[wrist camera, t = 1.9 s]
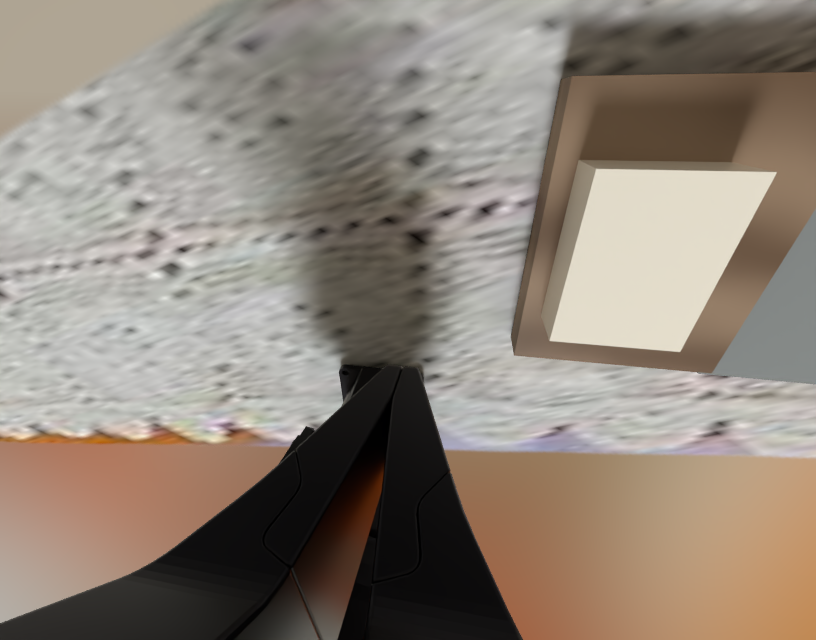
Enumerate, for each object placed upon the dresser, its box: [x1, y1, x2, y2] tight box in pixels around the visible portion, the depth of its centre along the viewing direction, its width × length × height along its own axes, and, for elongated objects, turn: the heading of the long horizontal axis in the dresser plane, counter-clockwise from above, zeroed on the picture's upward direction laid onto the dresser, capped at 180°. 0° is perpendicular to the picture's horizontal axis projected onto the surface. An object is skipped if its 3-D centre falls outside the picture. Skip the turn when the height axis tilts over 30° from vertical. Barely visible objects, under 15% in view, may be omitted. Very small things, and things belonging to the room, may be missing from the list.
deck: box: [511, 72, 816, 373], centre depth 17 cm, size 14×11×2 cm
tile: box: [541, 160, 777, 352], centre depth 15 cm, size 8×6×2 cm
